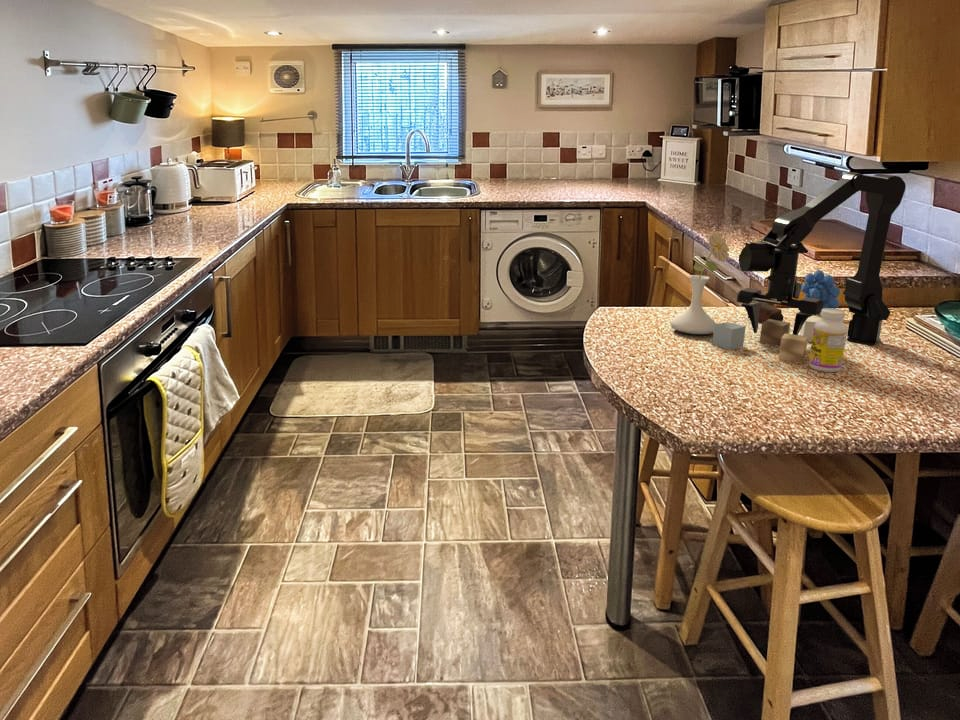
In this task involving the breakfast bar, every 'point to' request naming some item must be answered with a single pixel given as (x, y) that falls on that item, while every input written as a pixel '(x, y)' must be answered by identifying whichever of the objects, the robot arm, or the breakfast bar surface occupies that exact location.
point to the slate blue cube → (728, 335)
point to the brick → (769, 313)
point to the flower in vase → (695, 316)
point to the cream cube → (809, 328)
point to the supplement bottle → (828, 341)
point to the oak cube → (793, 348)
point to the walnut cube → (773, 331)
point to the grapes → (821, 289)
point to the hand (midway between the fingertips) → (774, 336)
